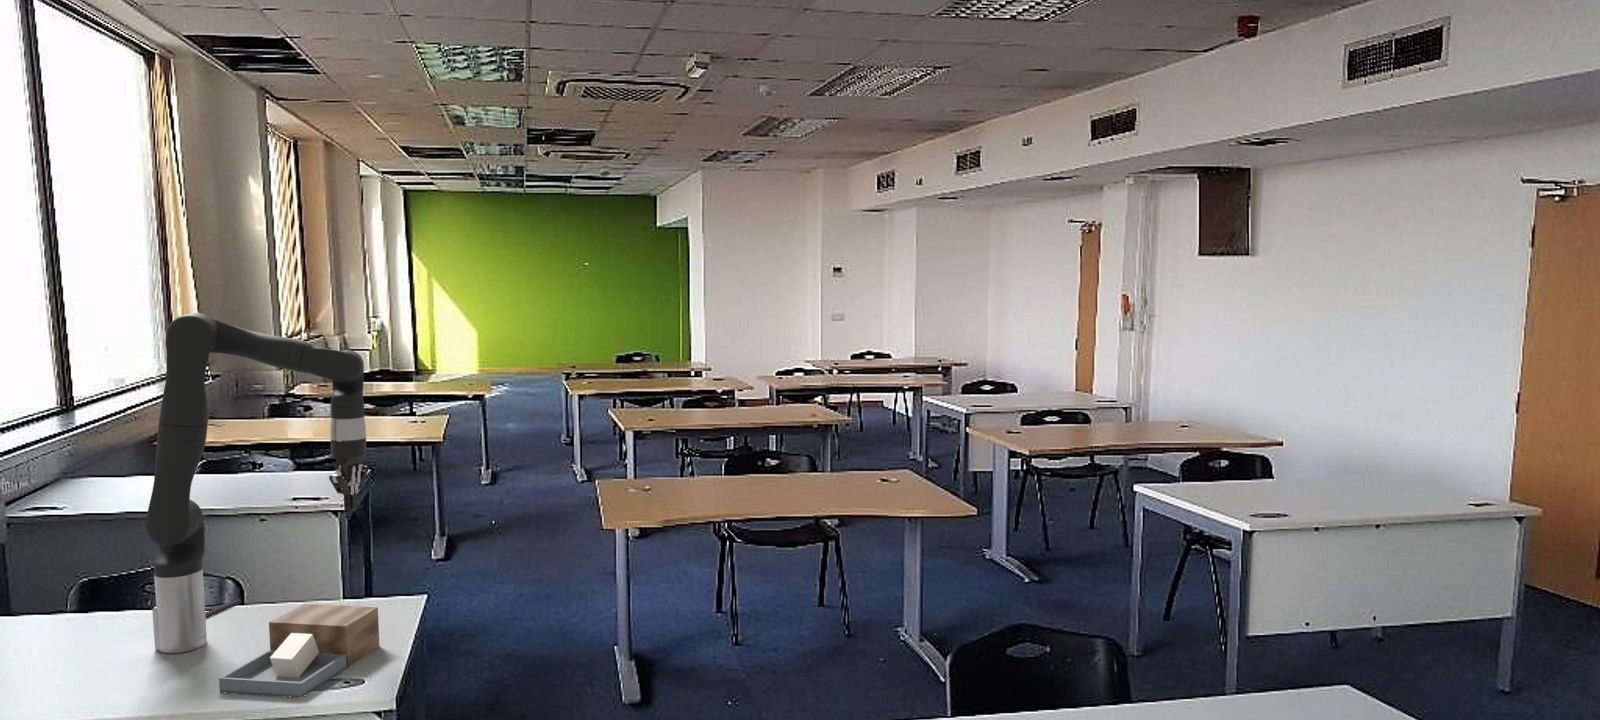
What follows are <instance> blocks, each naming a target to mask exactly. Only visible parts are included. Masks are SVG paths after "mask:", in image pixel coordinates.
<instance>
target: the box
mask: <svg viewBox="0 0 1600 720" xmlns="http://www.w3.org/2000/svg"><path fill="white" fill-rule="evenodd" d="M274 652H275V651H274V650H270V649H268V650H267V651H265V652H263V653H262V654H259V655H258V656H255V658H253V659H251V660H249V661H247V662H245V663H244V664H242V665H240V666H238V667H236V668H234V669H233V670H231V671H230V672H228V673H226V674H224V675H222V676H220V677H219V678H218V686H219V688H218V689H219V693H220V692H226V693H225V694H230V693H237V694H236V695H246V694H249V696H262V695H264V697H268V696H269V697H278V696H286V697H285V698H293V697H303V696H304V695H306V694H307V695H309V694H311V693H312V692H313V691H315V690H316V689H318V688H319V687H321V686H323V685H324V684H326V683H327V682H328V681H330V680H332V679H333V678H334V677H336V676H337V675H339V674H341V673H342V672H343V671H345V670H346V669H348V667H347V663H346V654H328V653H318V655H317V656H316V657H315V658H314V660H313V661H312V662H311V663H310V664H309V666H308V667H307V668H306V669H305V671H304V672H303V673H302V674H301V676H300V677H299V678H294V677H279V676H276V673H275V671H274V668H273V665H272V663H271V660H270V657H271V656H272V655H273V653H274ZM308 693H309V694H308ZM307 695H306V696H307ZM289 696H291V697H289ZM304 697H305V696H304ZM304 697H303V698H304Z"/></svg>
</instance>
